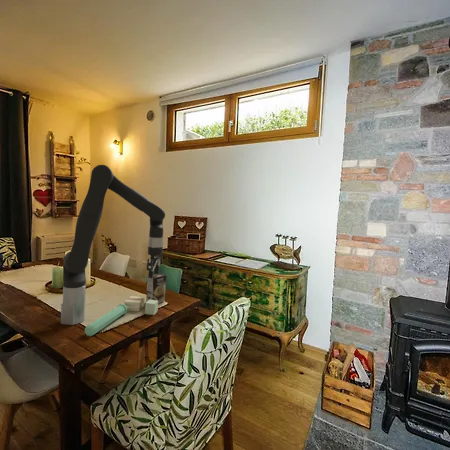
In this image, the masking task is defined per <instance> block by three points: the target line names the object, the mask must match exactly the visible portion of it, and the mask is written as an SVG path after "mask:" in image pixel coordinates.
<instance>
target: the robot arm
mask: <svg viewBox="0 0 450 450" xmlns="http://www.w3.org/2000/svg"><path fill="white" fill-rule="evenodd" d="M88 185H89V186H88V190H87V192H86V196H85V198H84V199H83V202H82V205H81V206H80V210H79V213H78V215H77V219H76V222H75V223H76V224H75V231H74V240H73V243H72V247H71V249H70V251H68V252H67V253H66V254H65V256H64V257H63V262H62V283H63V284H62V303H61V304H60V305H61V306H60V324H61V325H67V326H75V325H77V324H81V323H82V322H84V321H85V310H86V287H87V286H86V283H87V279H86V269H87V268H86V267H88V264H89V258H90V252H91V248H92V245H93V242H94V238H95V236H96V234H97V230H98V227H99V224H100V221H101V218H102V214H103V209H104V203H105V201H104V200H105V197H106V194H107V191H108V190H110V191H112V192H114V193H115V194H117V195H118V196H119V197H121V198H122V199H123V200H124V201H126V202H127V203H129V204H130V205H131V206H132V207H135V208H136V209H137V210H138V211H140V212H142V213H144V214H145V215H146V216H148V217H149V233H148V241H147V255H149V256H150V257H149V258H147V262H146V271H148V275H147V279H148V278H153V275H154V274H159V273H160V266H161V265H162V255H163V252H164V251H163V250H164V249H163V248H164V226H163V222H164V221H163V220H164V219H165V218H166V212H165V210H164V209H163V208H162V207H160V206H158V204H155V203H154V202H152V201H150V200H149V198H147V197H146V196H144V195H143V194H141V193H140V192H138V191H137V190H135V189H134V188H132V187H130V186H129V185H127V184H125V183H123V182H122V181H121V180H120V179H119V178H118V177H117V176H116V175H115V174H114V173H113V171H112V168H110V167H109V166H107V165H106V164H98V165H96V166H94V167H93V168H92V170H91V175H90V181H89V184H88Z"/></svg>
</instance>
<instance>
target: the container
mask: <svg viewBox="0 0 450 450" xmlns="http://www.w3.org/2000/svg"><path fill="white" fill-rule="evenodd" d="M127 313H128V310H127V307H126V306H125V304H124V303H120V304H119V305H117V306H116V307H115V308H113V309H112V310H111V311H109V312H106V313H105V314H104V315H102V316H101V317H98V319H96V320H94V321H92V322H91V323H89V324H88V325H87V326H86V327H85V328H84V333H85V335H86V336H87V337H92V336H95V334H97V333H98V332H100V331H101V330H103V329H104V328H106V327H107V326H108V325H110V324H112V323H113V322H114V321H116V320H117V319H119V318H120V317H121V315H122V316H124V315H125V314H127ZM123 314H124V315H123Z"/></svg>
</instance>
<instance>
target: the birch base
mask: <svg viewBox="0 0 450 450" xmlns="http://www.w3.org/2000/svg"><path fill="white" fill-rule="evenodd" d="M123 304H125V306H126V307H127V311H129V310H132V311H131V312H138V311H139V310H140V309H141V310H142V309H143V308H144V306H145V297H143V296H142V297H141V296H133V295H132V296H131V295H130V296H129V297H128V298H126V299H125V300H124V302H123ZM141 310H140V311H141ZM140 311H139V312H140Z"/></svg>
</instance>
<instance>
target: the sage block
mask: <svg viewBox="0 0 450 450" xmlns="http://www.w3.org/2000/svg"><path fill="white" fill-rule="evenodd" d="M144 306H145V308H144V309H145V310H144V315H149V316H150V315H152V316H155V315H156V314H157V313H158V309H159V303H158V301H157V300H148V301H147V302H146V301H145V305H144Z"/></svg>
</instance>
